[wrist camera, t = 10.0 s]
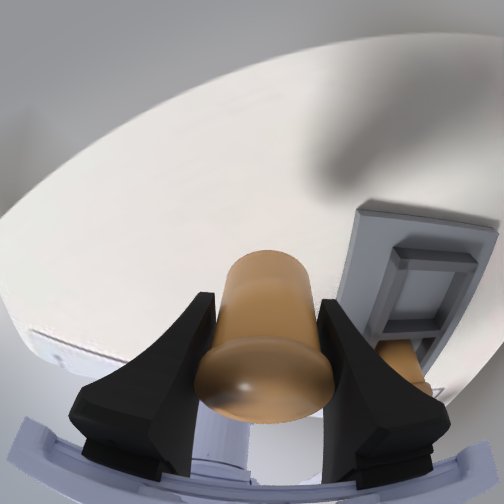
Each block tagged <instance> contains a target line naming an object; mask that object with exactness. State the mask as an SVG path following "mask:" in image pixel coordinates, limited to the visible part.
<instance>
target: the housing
mask: <svg viewBox="0 0 504 504" xmlns="http://www.w3.org/2000/svg"><path fill="white" fill-rule="evenodd" d="M498 235H499V233H498V232H496V231H495V230H494V229H493V228H490V227H484V226H478V225H472V224H466V223H460V222H453V221H447V220H440V219H433V218H426V217H418V216H411V215H403V214H395V213H386V212H378V211H368V210H359V209H356V214H355V219H354V224H353V229H352V234H351V239H350V244H349V248H348V253H347V257H346V262H345V266H344V270H343V274H342V278H341V282H340V286H339V290H338V294H337V298H336V300H337V301H338V303H339V304H340V306H341V307H342V309H343V310H344V311H345V313H346V314H347V316H348V317H349V319H350V320H351V321H352V323H353V324H354V325H355V327H356V328H357V329H358V331H359V332H360V333H361V335H362V336H363V337H364V338H365V340H366V341H367V342H368V343H369V345H370V346H371V347H372V348H373V349H375V347H376V345H377V343H378V341H379V340H399V339H410V341H411V343H412V346H413V348H414V351H415V354H416V356H417V359H418V362H419V365H420V368H421V370H422V373H423V376H425V375H426V374H427V372H428V371H429V369H430V368H431V366H432V365H433V364H434V362H435V361H436V359H437V358H438V356H439V354H440V353H441V351H442V350H443V348H444V347H445V345H446V343H447V342H448V340H449V339H450V337H451V335H452V334H453V332H454V330H455V328H456V327H457V325H458V323H459V321H460V320H461V318H462V316H463V314H464V312H465V310H466V308H467V306H468V305H469V303H470V301H471V299H472V297H473V295H474V293H475V290H476V288H477V286H478V284H479V282H480V280H481V277H482V275H483V273H484V271H485V268H486V266H487V264H488V261H489V259H490V256H491V254H492V251H493V249H494V246H495V243H496V240H497V238H498Z"/></svg>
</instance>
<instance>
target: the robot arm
mask: <svg viewBox="0 0 504 504" xmlns="http://www.w3.org/2000/svg"><path fill="white" fill-rule="evenodd" d="M215 328H216V311H215V294H214V293H209V292H199V293H198V294H197V296H196V297H195V298H194V300H193V301H192V302H191V303H190V305H189V306H188V307H187V308H186V310H185V311H184V312H183V313H182V314H181V315H180V317H179V318H178V319H177V320H176V321H175V322H174V323H173V325H172V326H171V327H170V328H169V329H168V330H167V331H166V332H165V333H164V334H163V335H162V336H161V337H160V338H159V339H158V340H156V341H155V342H154V343H153V344H152V345H151V346H150V347H148V348H147V349H146V350H145V351H144V352H142V353H141V354H140V355H138V356H137V357H136V358H134V359H133V360H132V361H130V362H129V363H127V364H126V365H124V366H123V367H121V368H119V369H118V370H116V371H114V372H113V373H111V374H109V375H107V376H105V377H103V378H101V379H99V380H97V381H95V382H93V383H91V384H88V385H86V386H84V387H82V388H81V390H80V392H79V393H78V395H77V397H76V399H75V402H74V404H73V406H72V408H71V410H70V413H69V415H68V416H69V419H70V421H71V422H72V424H73V425H74V426H75V427H76V428H77V429H78V430H79V431H80V432H81V433H82V434H83V435H84V436H85V437H86V438H87V439H86V442H85V445H84V447H80V446H78V445H76V444H73V443H71V442H68V441H66V440H64V439H62V438H60V437H57V436H56V434H55V433H54V432H53V431H52V430H50V429H49V428H48V427H46V426H44V425H43V424H41V423H39V422H37V421H35V420H33V419H31V418H29V417H27V416H26V417H25V418H24V420H23V423H22V425H21V427H20V429H19V431H18V433H17V435H16V438H15V440H14V442H13V445H12V447H11V449H10V451H9V454H8V456H7V461H8V462H9V463H11V464H12V465H13V466H15V467H16V468H18V469H19V470H21V471H22V472H24V473H25V474H27V475H28V476H30V477H32V478H33V479H35V480H36V481H38V482H40V483H42V484H43V485H45V486H47V487H48V488H50V489H52V490H54V491H56V492H57V493H59V494H61V495H63V496H65V497H67V498H69V499H71V500H73V501H75V502H77V503H79V504H302V503H318V502H329V501H338V500H343V501H339V502H337V503H336V504H463V503H465V502H467V501H469V500H471V499H473V498H475V497H477V496H479V495H481V494H482V493H484V492H486V491H488V490H490V489H491V488H493V487H495V486H497V485H498V484H499V483H500V482H499V477H498V474H497V469H496V466H495V462H494V458H493V455H492V452H491V449H490V445H489V442H488V440H487V439H485V440H483V441H480V442H478V443H475V444H473V445H471V446H468V447H467V448H465V449H464V450H462V451H461V452H459V453H458V454H457V455H456V456H453V457H450V458H448V459H444V460H442V461H438V462H435V463H432V460H431V455H430V454H432V453H433V451H434V450H433V446H432V444H433V443H434V442H436V441H437V440H438V439H439V438H440V437H442V436H443V435H444V434H445V433H446V432H447V431H448V429H449V427H450V425H451V423H450V420H449V416H448V414H447V410H446V408H445V405H444V404H443V403H442V402H440V401H438V400H436V399H435V398H433V397H431V396H429V395H428V394H426V393H424V392H423V391H421V390H420V389H418V388H417V387H415V386H414V385H413V384H411V383H410V382H409V381H407V380H406V379H405V378H403V377H402V376H401V375H400V374H399V373H397V372H396V371H395V370H394V369H393V368H392V367H391V366H390V365H388V364H387V363H386V362H385V361H384V360H383V359H382V358H381V357H380V356H379V355H378V354H377V352H376V351H375V350H374V349H373V348H372V347H371V346H370V345H369V343H368V342H367V341H366V340H365V338H364V337H363V336H362V335H361V333H360V332H359V331H358V329H357V328H356V327H355V325H354V324H353V323H352V321H351V320H350V319H349V317H348V316H347V314H346V313H345V311H344V310H343V309H342V307H341V306H340V304H339V303H338V301H337V300H335V299H322V302H321V306H320V310H319V314H318V319H317V329H318V335H319V342H320V349H321V353H322V354H323V355H324V356H325V357H326V358H327V359H328V360H329V362H330V364H331V366H332V371H333V378H334V384H335V390H334V394H333V396H332V398H331V400H330V401H329V402H328V403H327V404H326V405H325V406H324V407H323V419H324V449H323V469H322V482H321V484H317V485H295V486H267V485H260V484H259V483H258V482H257V480H256V479H254V478H250V474H251V471H247V461H248V448H249V436H250V427H252V426H253V424H254V423H248V422H243V421H238V420H234V419H231V418H228V417H225V416H223V415H221V414H218V413H216V412H215V411H213V410H211V409H210V408H208V407H207V406H206V405H205V404H204V403H203V402H202V401H201V400H200V399H199V398H198V396H197V394H196V392H195V389H194V380H195V376H196V372H197V367H198V364H199V362H200V360H201V358H202V357H203V356H204V355H205V354H206V353H207V352H208V351H209V350H211V346H212V341H213V337H214V332H215ZM346 499H347V500H346Z"/></svg>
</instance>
